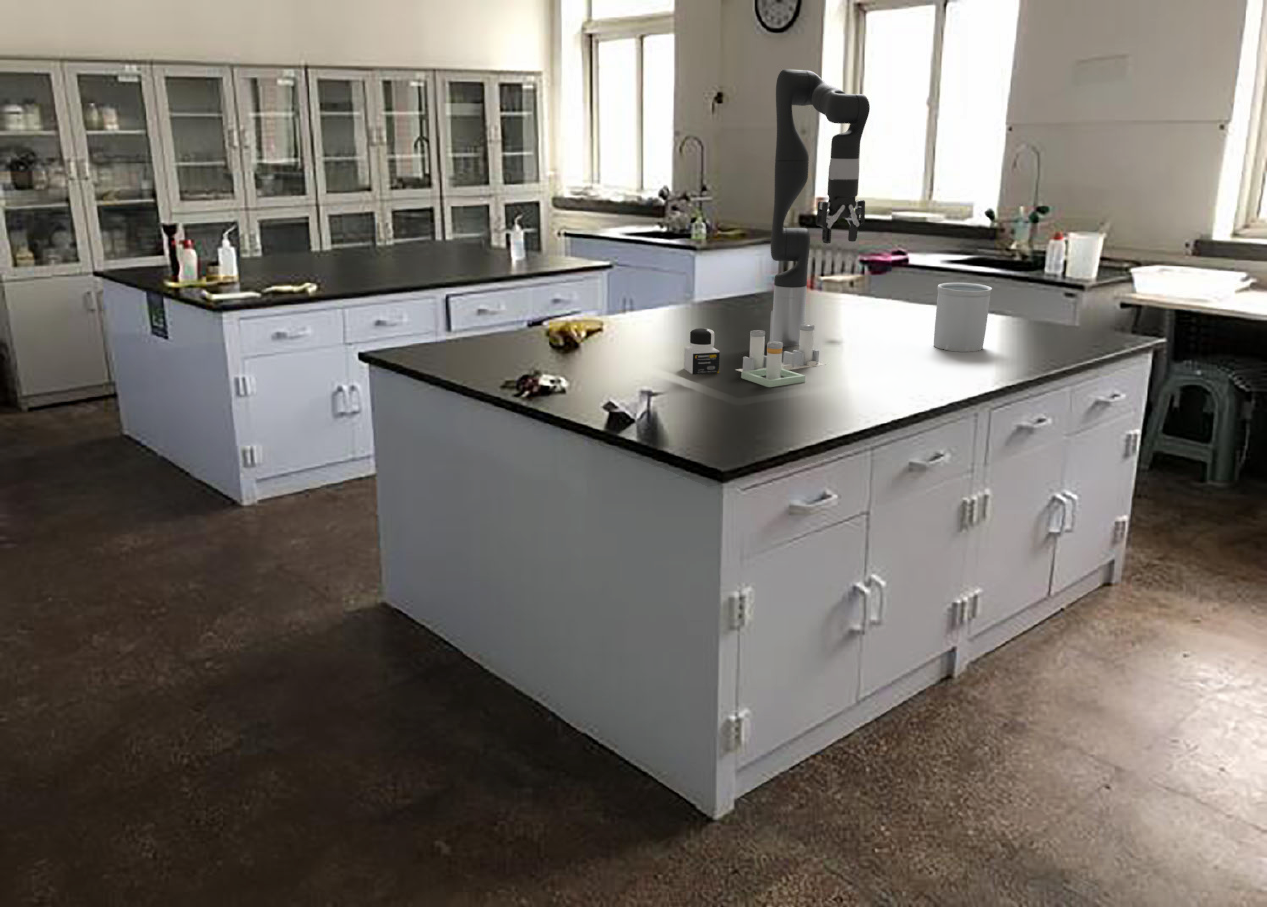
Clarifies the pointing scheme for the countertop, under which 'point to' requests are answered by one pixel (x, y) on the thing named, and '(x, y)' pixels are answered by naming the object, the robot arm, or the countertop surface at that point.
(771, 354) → the fuse marked
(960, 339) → the utensil holder
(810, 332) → the white capsule
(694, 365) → the medicine bottle
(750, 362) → the holder
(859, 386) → the countertop surface
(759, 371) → the tray
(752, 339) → the cylinder
